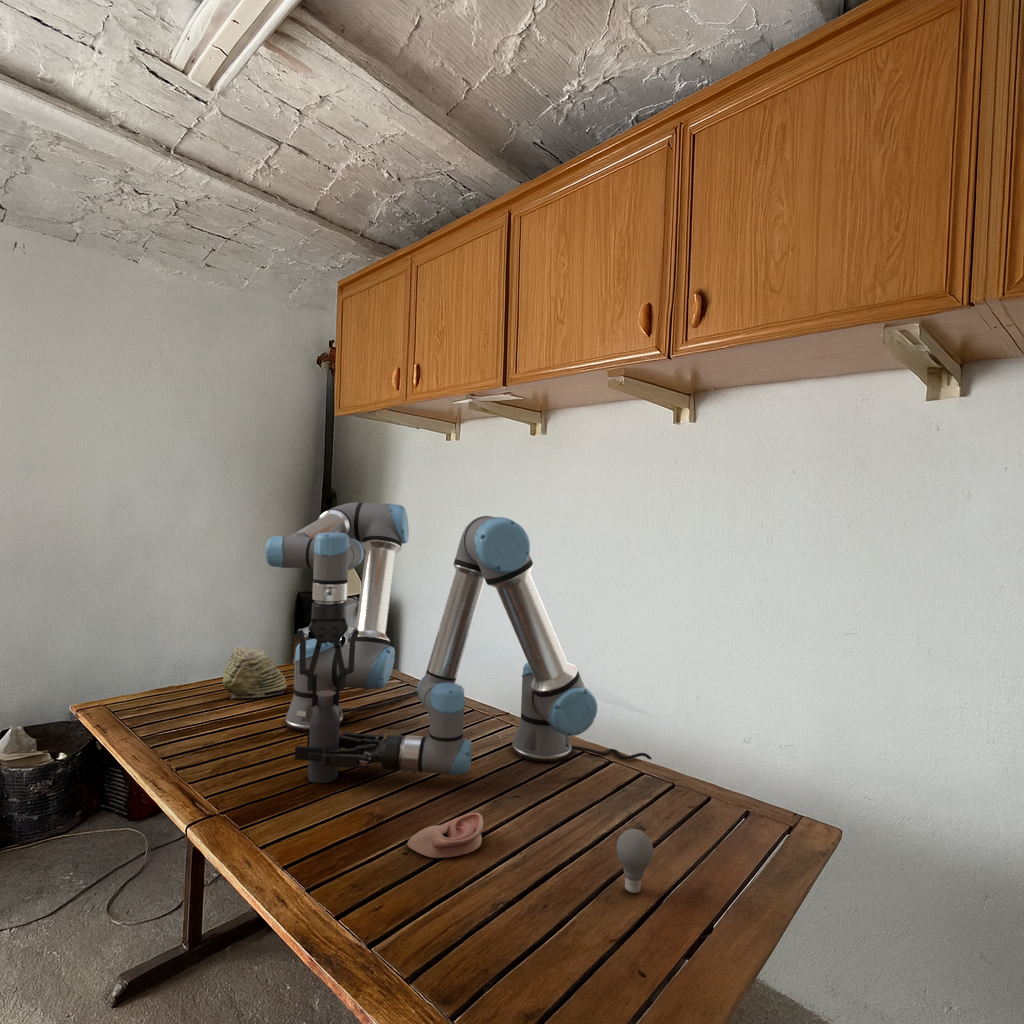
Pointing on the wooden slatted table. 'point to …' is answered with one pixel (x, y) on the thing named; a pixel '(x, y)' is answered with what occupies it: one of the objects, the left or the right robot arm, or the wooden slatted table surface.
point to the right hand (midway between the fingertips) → (302, 746)
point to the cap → (325, 698)
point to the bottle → (323, 742)
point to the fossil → (252, 674)
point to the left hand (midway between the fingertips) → (325, 704)
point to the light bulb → (634, 857)
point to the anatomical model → (449, 837)
